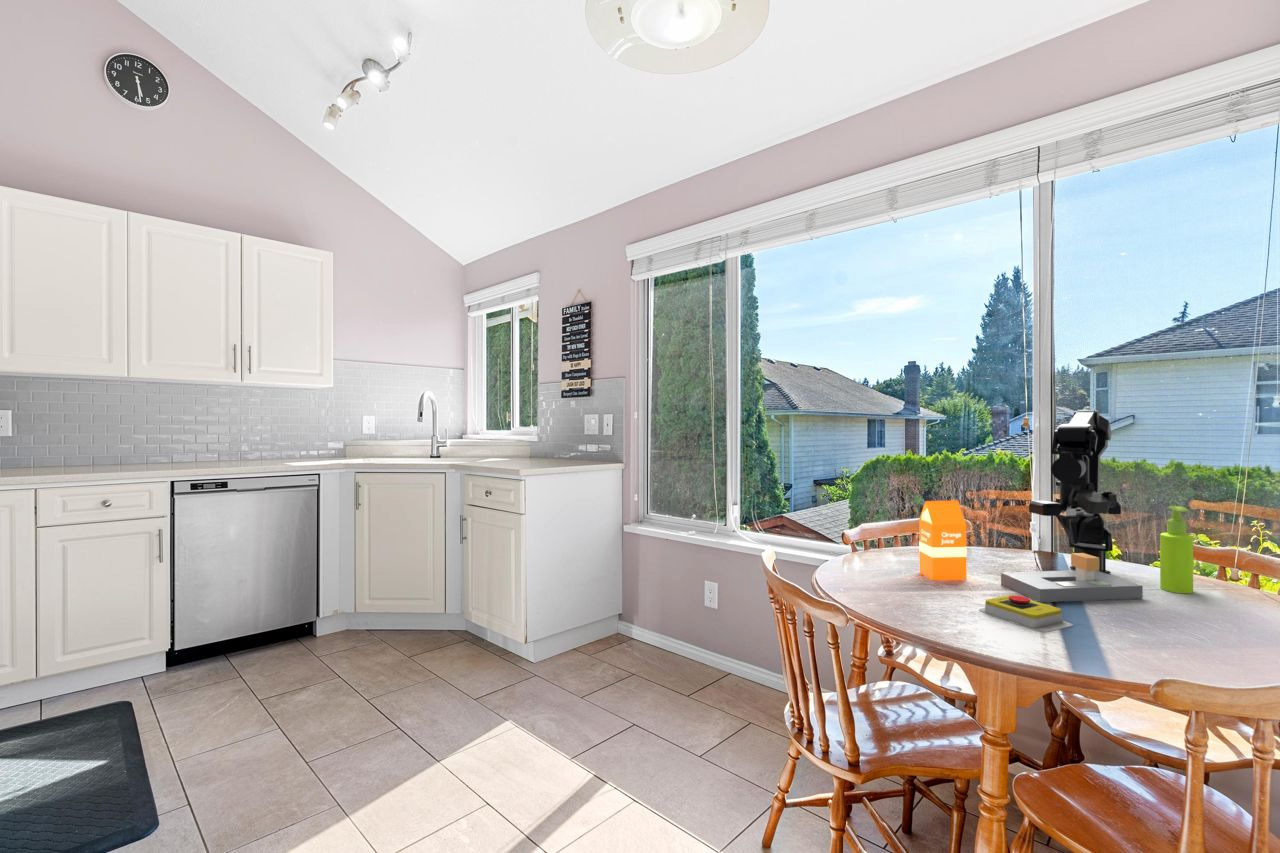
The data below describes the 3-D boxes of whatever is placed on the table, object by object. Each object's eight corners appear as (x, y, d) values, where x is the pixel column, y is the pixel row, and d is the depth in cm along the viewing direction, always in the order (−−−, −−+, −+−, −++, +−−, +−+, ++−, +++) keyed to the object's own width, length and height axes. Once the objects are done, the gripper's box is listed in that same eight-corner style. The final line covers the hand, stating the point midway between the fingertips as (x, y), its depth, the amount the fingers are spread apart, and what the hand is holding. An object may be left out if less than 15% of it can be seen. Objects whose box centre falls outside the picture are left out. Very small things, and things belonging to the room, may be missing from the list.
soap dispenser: (1168, 593, 142) (1168, 508, 141) (1155, 585, 148) (1156, 503, 148) (1200, 595, 140) (1200, 509, 139) (1186, 587, 146) (1186, 504, 146)
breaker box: (1094, 581, 153) (1094, 568, 152) (1142, 598, 139) (1142, 584, 139) (1001, 584, 152) (1000, 571, 152) (1040, 602, 138) (1039, 588, 138)
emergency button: (1005, 587, 137) (1075, 606, 123) (1005, 606, 137) (1075, 628, 123) (976, 592, 133) (1044, 613, 120) (976, 612, 133) (1044, 635, 120)
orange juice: (967, 580, 156) (966, 502, 156) (932, 580, 156) (931, 503, 156) (951, 572, 164) (951, 498, 164) (919, 572, 164) (918, 498, 164)
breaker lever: (1083, 582, 148) (1083, 552, 148) (1099, 588, 143) (1099, 557, 143) (1071, 582, 148) (1071, 553, 148) (1087, 588, 143) (1086, 558, 143)
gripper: (1060, 483, 136) (1060, 552, 136) (1141, 481, 137) (1141, 550, 137) (1027, 477, 147) (1027, 541, 148) (1102, 476, 148) (1102, 539, 148)
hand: (1074, 543), depth 145 cm, fingers closed
